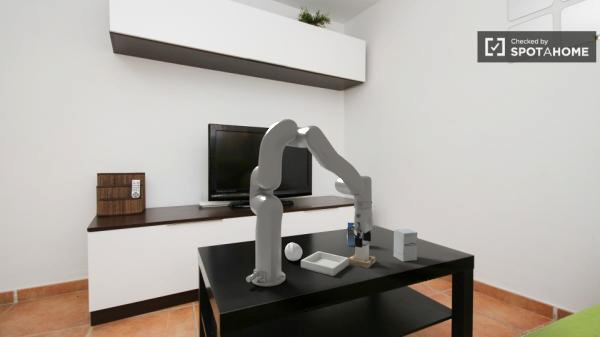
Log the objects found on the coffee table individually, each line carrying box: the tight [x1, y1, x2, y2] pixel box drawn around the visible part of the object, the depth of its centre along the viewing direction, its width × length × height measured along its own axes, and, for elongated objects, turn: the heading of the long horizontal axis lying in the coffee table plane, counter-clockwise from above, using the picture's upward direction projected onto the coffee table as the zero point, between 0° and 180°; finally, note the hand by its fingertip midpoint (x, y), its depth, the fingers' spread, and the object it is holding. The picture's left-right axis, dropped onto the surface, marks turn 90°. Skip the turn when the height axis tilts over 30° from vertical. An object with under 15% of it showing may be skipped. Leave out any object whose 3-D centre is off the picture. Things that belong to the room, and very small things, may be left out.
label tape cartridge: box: [346, 222, 364, 247], centre depth 142 cm, size 9×4×12 cm, turn 84°
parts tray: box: [300, 250, 350, 277], centre depth 114 cm, size 14×15×3 cm
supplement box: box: [393, 228, 418, 262], centre depth 123 cm, size 7×7×13 cm
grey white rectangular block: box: [354, 241, 370, 262], centre depth 118 cm, size 4×4×9 cm
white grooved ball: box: [284, 242, 303, 262], centre depth 121 cm, size 8×8×8 cm
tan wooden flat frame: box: [348, 253, 377, 269], centre depth 118 cm, size 9×9×2 cm
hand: (363, 243), depth 118 cm, fingers open, 9 cm apart
